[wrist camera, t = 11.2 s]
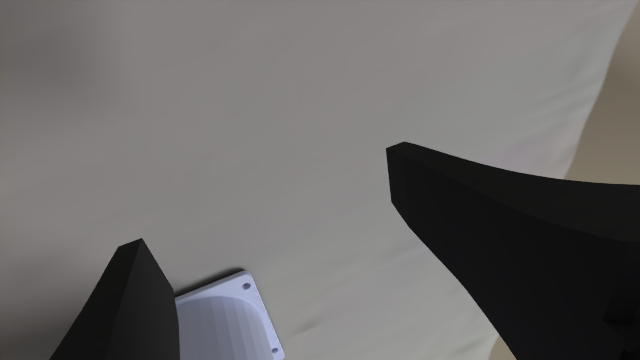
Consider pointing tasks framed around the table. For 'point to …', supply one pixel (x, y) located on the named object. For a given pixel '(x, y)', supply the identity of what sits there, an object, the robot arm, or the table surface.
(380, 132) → the table surface
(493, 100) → the table surface
